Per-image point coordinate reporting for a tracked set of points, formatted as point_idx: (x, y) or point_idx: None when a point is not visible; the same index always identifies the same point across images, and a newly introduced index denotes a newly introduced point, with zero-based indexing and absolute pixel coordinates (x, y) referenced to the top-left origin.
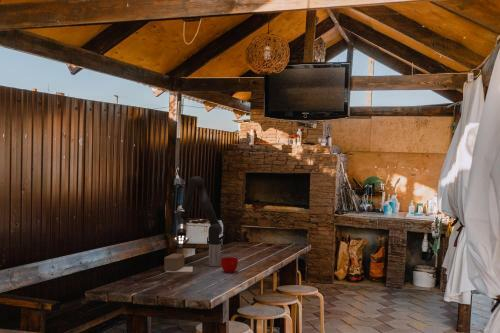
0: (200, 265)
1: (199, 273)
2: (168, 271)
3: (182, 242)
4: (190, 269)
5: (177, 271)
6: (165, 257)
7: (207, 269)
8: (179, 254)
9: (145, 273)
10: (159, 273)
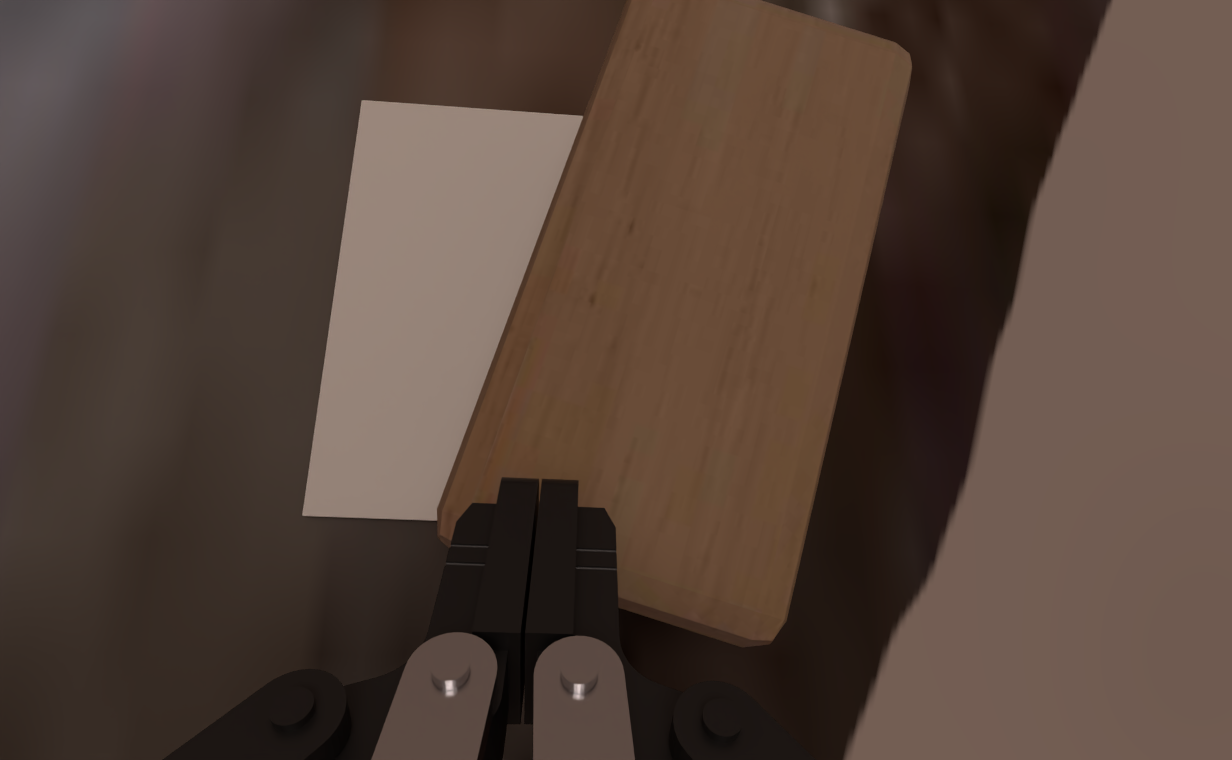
0: (115, 740)
1: (266, 9)
2: None
3: (410, 698)
4: (379, 251)
5: None
6: (892, 44)
7: (64, 304)
8: (576, 414)
9: (1042, 67)
10: None
